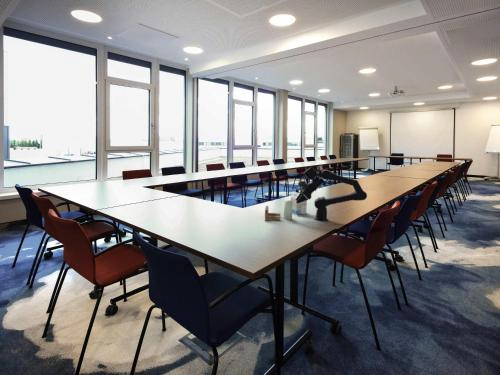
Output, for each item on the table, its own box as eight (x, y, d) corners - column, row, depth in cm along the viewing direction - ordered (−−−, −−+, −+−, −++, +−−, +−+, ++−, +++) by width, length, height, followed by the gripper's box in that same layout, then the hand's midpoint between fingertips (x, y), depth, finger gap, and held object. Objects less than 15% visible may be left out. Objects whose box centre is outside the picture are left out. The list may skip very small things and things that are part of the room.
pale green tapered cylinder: (293, 219, 199) (294, 200, 197) (287, 220, 196) (287, 201, 195) (288, 217, 203) (289, 199, 202) (282, 218, 201) (282, 200, 199)
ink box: (296, 214, 212) (296, 195, 210) (290, 212, 219) (290, 193, 217) (306, 213, 215) (307, 194, 213) (300, 211, 223) (300, 192, 221)
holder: (280, 216, 207) (280, 206, 206) (280, 221, 194) (280, 210, 193) (266, 215, 208) (266, 205, 207) (264, 220, 195) (265, 209, 194)
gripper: (304, 174, 204) (287, 190, 207) (306, 177, 186) (287, 195, 188) (316, 186, 204) (298, 202, 207) (319, 190, 186) (300, 208, 189)
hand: (296, 201), depth 198 cm, fingers open, 9 cm apart
